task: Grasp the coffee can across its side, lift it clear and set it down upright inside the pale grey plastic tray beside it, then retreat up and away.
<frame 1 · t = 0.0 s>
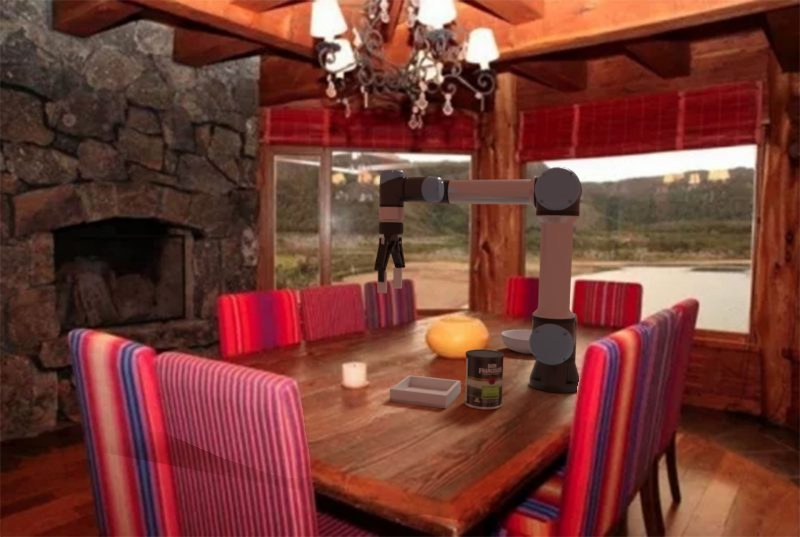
hand: (390, 290, 180), 28 cm above the table, fingers open, 13 cm apart
tray: (426, 396, 165), on the table
serving bowl: (527, 352, 227), on the table
coffee can: (483, 404, 159), on the table
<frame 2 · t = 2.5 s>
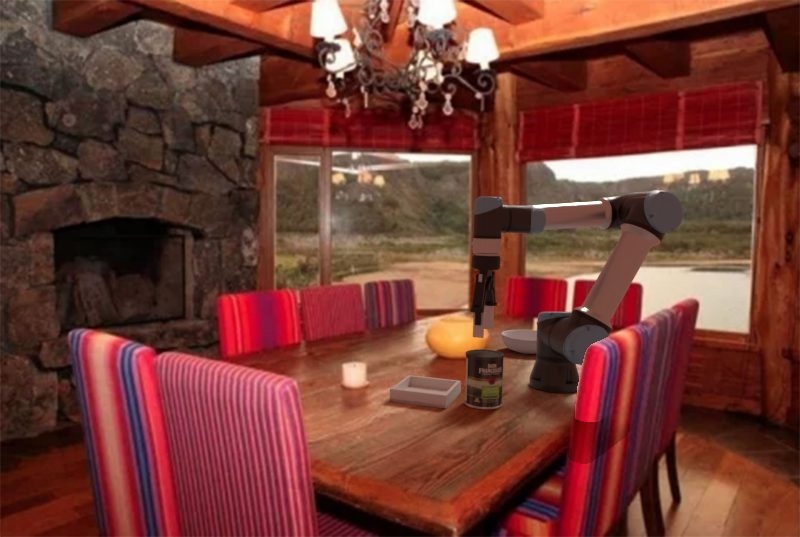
hand: (483, 333, 158), 19 cm above the table, fingers open, 13 cm apart
nothing on the table moved.
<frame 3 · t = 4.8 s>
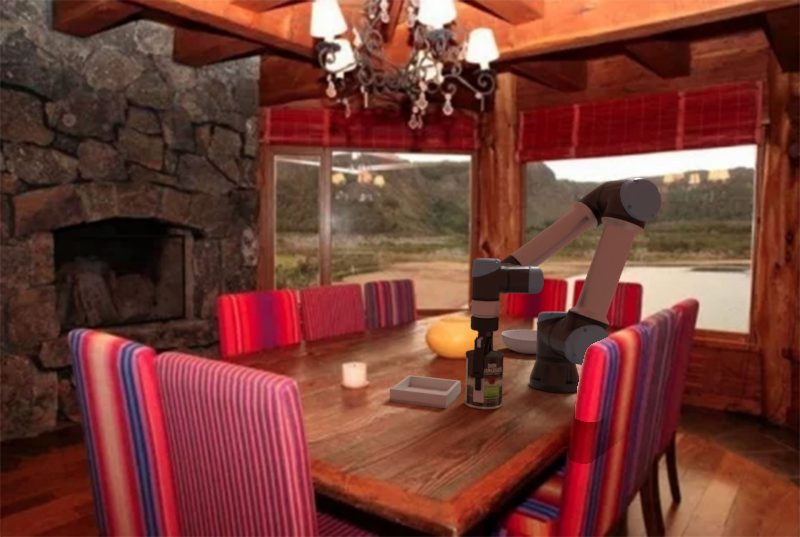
hand: (482, 396, 159), 2 cm above the table, fingers closed on coffee can, 10 cm apart
coffee can: (483, 404, 159), on the table, touching gripper
everything else where it was.
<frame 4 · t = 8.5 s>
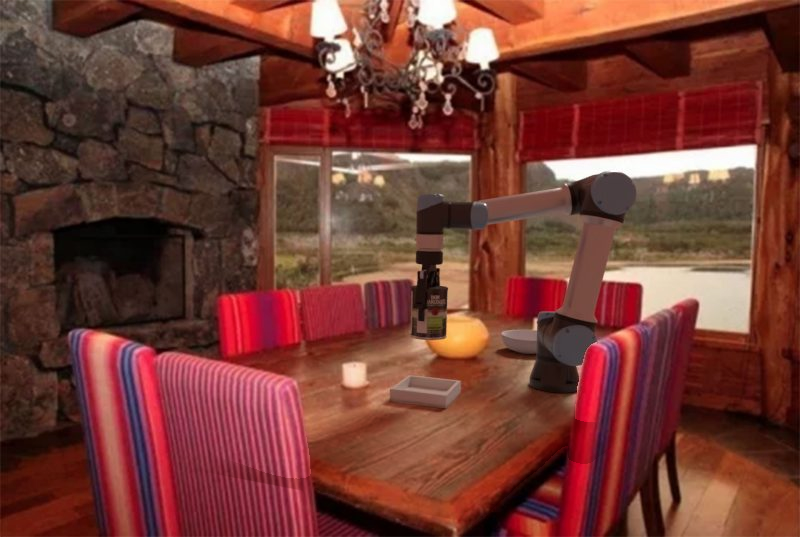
hand: (427, 329, 163), 19 cm above the table, fingers closed on coffee can, 10 cm apart
coffee can: (428, 337, 163), point 17 cm above the table, touching gripper
everything else where it was.
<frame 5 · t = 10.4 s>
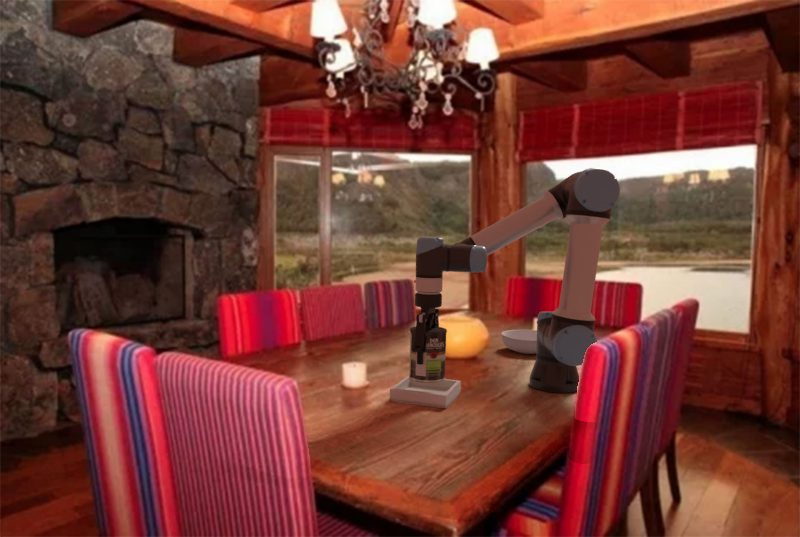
hand: (426, 371, 164), 7 cm above the table, fingers closed on coffee can, 10 cm apart
coffee can: (427, 378, 164), point 5 cm above the table, touching gripper
everything else where it was.
when the fingers open (4 cm above the table, at t = 12.1 s): coffee can drops 1 cm, resting on tray.
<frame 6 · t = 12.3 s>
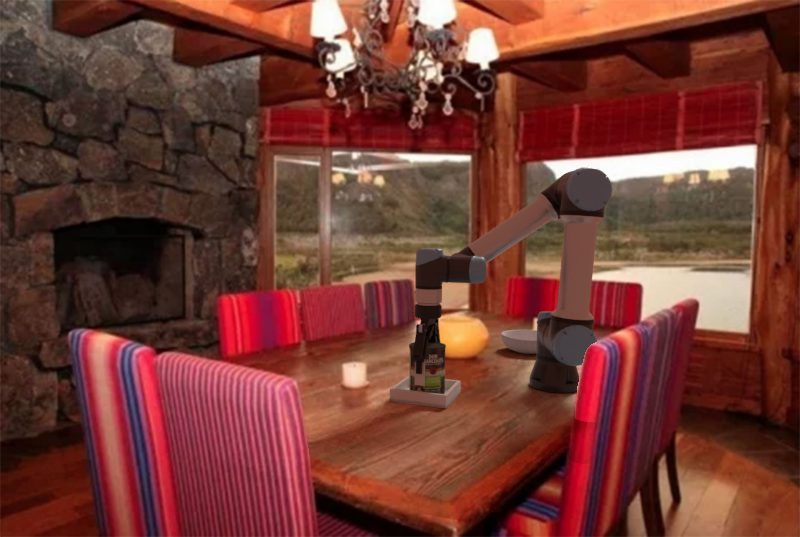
hand: (426, 379, 164), 5 cm above the table, fingers open, 12 cm apart
coffee can: (427, 394, 164), point 1 cm above the table, touching tray
everything else where it was.
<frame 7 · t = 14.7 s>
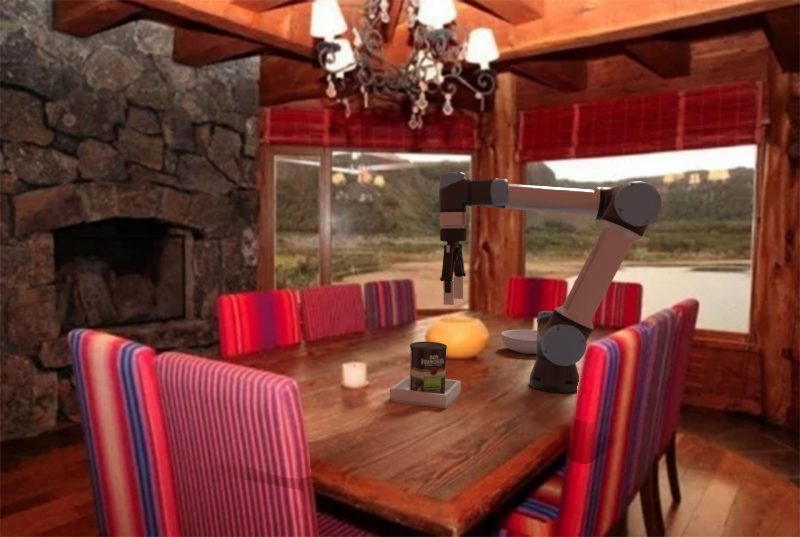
hand: (453, 301, 168), 27 cm above the table, fingers open, 13 cm apart
nothing on the table moved.
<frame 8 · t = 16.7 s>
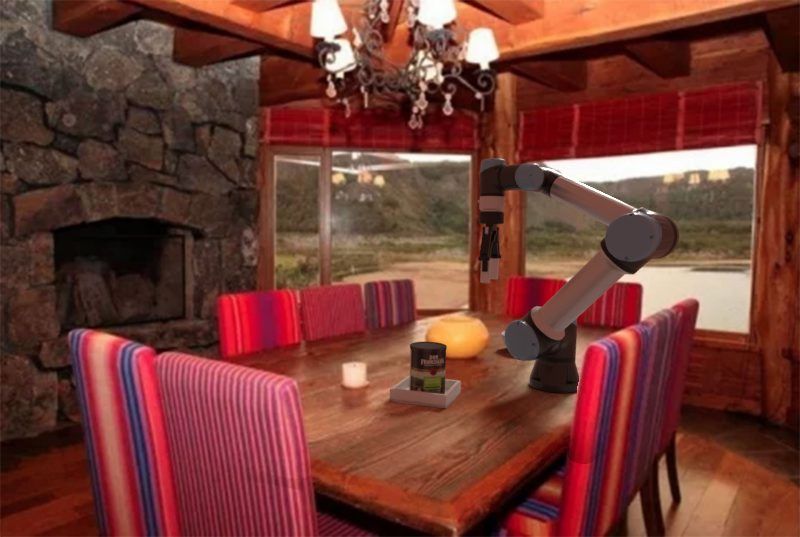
hand: (489, 281, 178), 32 cm above the table, fingers open, 13 cm apart
nothing on the table moved.
at the end: coffee can inside the target area on the tray (0.4 cm from its centre), point 0.6 cm above the tray's base; coffee can tilted 0°; the gripper is holding nothing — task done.
